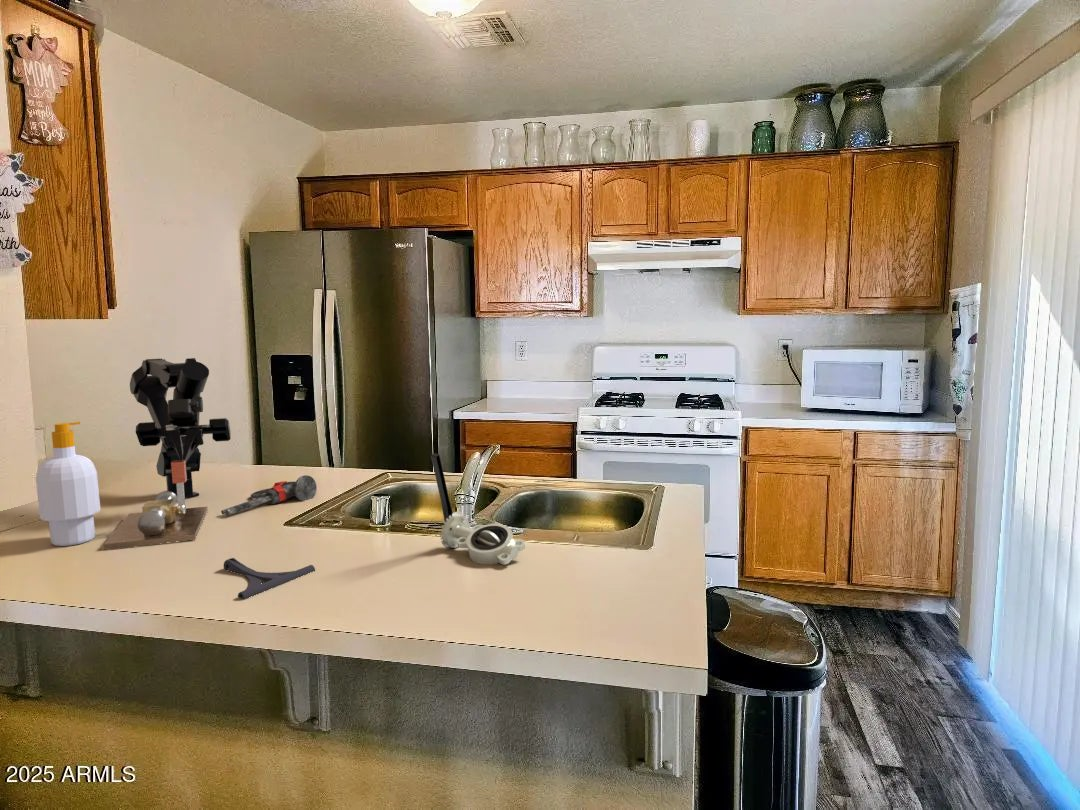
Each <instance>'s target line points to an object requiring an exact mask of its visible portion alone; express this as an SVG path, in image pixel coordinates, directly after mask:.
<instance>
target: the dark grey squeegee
mask: <svg viewBox="0 0 1080 810" xmlns="http://www.w3.org/2000/svg"><path fill="white" fill-rule="evenodd" d="M229 567H230V568H229ZM224 569H225V571H226V570H229V571H228V572H230V571H232V572H231V573H233V572H235V573H234V574H237V573H238V575H240V574H242V575H241V576H243V575H245V576H244V577H245V578H247V580H248V581H249V583H248V586H247V587H246V588H245V589H244V590H242V591H240V592H238V594H237V598H238V597H239V598H238V599H241V598H242V600H243V599H244V600H248V599H249V597H250V598H252V597H255V596H257V595H260V594H262V593H264V591H265V592H267V591H269V589H270V590H272V589H274V588H277V587H279V586H282V585H285V584H286V583H289V582H291V580H292V581H293V580H296V578H297V579H299V578H302V577H304V576H306V575H309V574H311V573H314V572H316V567H315V566H314V565H313V564H309V565H307V566H304V567H302V568H299V569H296V570H291V571H280V572H279V571H278V572H265V571H258V570H254V569H253V568H250V567H249V566H246V565H245V564H244V563H242V562H240V561H239V560H237V559H236V558H235V557H230V558H228V559H226V560H225V561H224V562H223V570H224ZM313 571H314V572H313ZM310 572H311V573H310ZM308 573H309V574H308ZM303 575H304V576H303ZM301 576H302V577H301ZM298 577H299V578H298ZM263 582H264V583H263ZM261 583H262V584H261ZM271 588H272V589H271ZM259 593H260V594H259ZM256 594H257V595H256ZM254 595H255V596H254ZM242 596H243V597H242ZM251 596H252V597H251ZM240 597H241V598H240Z"/></svg>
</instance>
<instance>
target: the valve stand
mask: <svg viewBox="0 0 1080 810" xmlns="http://www.w3.org/2000/svg"><path fill="white" fill-rule="evenodd" d="M141 507H142V511H141V512H131V513H128V515H127V516H125V518H124V519H123V520H122V522H121V523H120V524H119V525H118V527H117V528H116V529H115V530H114V531H113V532H112V534H111V535H110V536H109V537H108V539H106V541H105V542H104V543H103V547H104V548H103V549H104V551H109V550H108V549H111V550H117V548H120V549H125V548H124V547H130V548H135V547H134V546H139V547H145V546H144V545H148V546H152V545H151V544H158V545H161V544H160V543H167V542H176V541H186V542H188V541H187V540H195V539H196V540H197V538H196V536H197V537H198V535H199V533H200V531H199V530H201V528H202V526H203V524H204V521H205V519H206V517H205V516H207V514H208V512H207V511H209V508H208V506H199V507H198V506H197V507H188V508H187V507H186V514H179V513H178V497H177V496H176V494H174V493H173V492H171V491H167V490H163V491H160V492H159V493H158V494H156V495H155V497H154V499H153V500H146V502H145V503H144V504H143V505H142V506H141ZM206 513H207V514H206ZM204 518H205V519H204ZM203 520H204V521H203ZM202 523H203V524H202ZM201 525H202V526H201ZM200 527H201V528H200ZM198 532H199V533H198ZM197 534H198V535H197ZM196 540H195V541H196ZM167 544H168V543H167Z"/></svg>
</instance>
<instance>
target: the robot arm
mask: <svg viewBox="0 0 1080 810" xmlns="http://www.w3.org/2000/svg"><path fill="white" fill-rule="evenodd" d="M209 375H210V369H209V367H208V366H207V365H206V364H204V363H203V362H199V361H197V359H196V357H191V358H189V357H188V358H185V361H184V362H179V363H178V362H177V363H174V362H171V361H168V360H166V359H165V358H164V359H163V358H147V359H145V360H142V362H141V366H139V367H138V368H137V369H136V370H135V371H133V373H132V374H131V377H130V380H129V381H130V382H129V391H130V394H131V395H133V397H134V398H135V401H136V402H137V403H139V404H140V405H142V406H145V407H146V408H147V409H148V410H147V411H148V412H149V414H150V415H149V416H150V417H151V419H152V422H150V421H145V422H139V423H138V424H136V426H135V434H136V436H137V437H136V438H137V440H138V443H139V445H140V446H141V447H154V446H155V447H156V446H157V445H159V444H160V443H161V448H160V453H159V455H158V459H157V462H156V465H155V466H156V471H157V474H158V475H160V477H163V478H164V477H165V478H166V491H171V492H173V493H174V494H176V496H177V485H176V483H173V481H172V468H171V462H172V461H173V460H185V462H186V474H187V481H186V482H185V483H184V494H185V499H188V498H189V499H190V498H193V497H197V496H200V493H199V492H196V491H194V488H193V475H192V473H194V472H200V468H201V456H202V453H201V451H200V449H199V446H202V445H204V443H205V442H204V435H212V440H213V441H215V442H229V441H230V440H231V437H232V436H231V435H232V434H231V427H230V421H229V420H228V418H226V417H223V418H222V417H221V418H209V424H200V413H203V412H204V403H203V397H202V396H201V394H202V393H203V392H204V390H205V387H206V384H207V380H208V378H209V377H210V376H209ZM169 388H170V389H172V388H173V395H172V399H168V400H167V393H168V391H169Z"/></svg>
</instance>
